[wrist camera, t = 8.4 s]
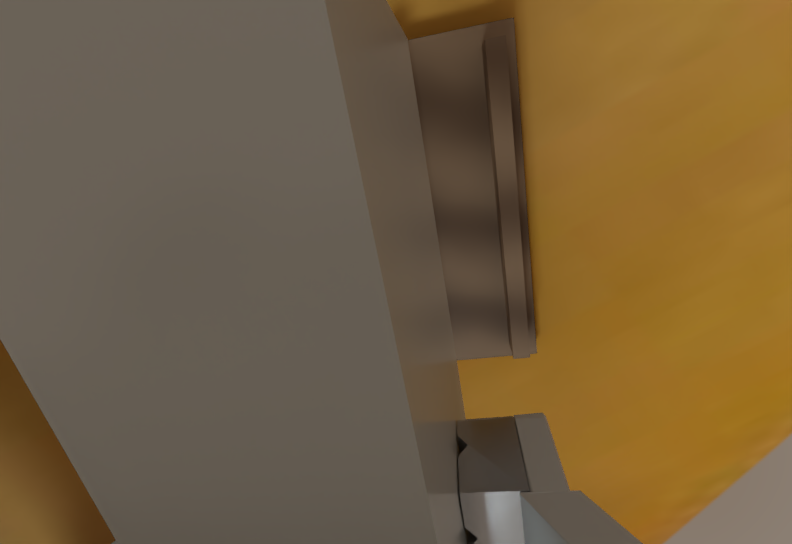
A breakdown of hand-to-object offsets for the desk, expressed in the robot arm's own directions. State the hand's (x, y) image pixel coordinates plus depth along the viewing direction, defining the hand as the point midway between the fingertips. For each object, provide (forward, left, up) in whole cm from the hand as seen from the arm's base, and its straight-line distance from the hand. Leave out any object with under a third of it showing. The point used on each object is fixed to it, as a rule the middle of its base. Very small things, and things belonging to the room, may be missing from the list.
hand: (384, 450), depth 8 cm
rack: (0, +2, -20) cm, 20 cm away
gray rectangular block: (0, 0, -2) cm, 2 cm away
